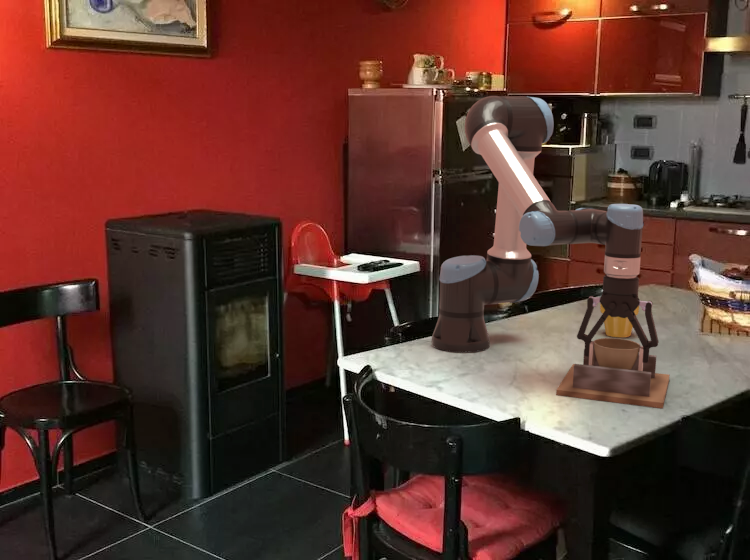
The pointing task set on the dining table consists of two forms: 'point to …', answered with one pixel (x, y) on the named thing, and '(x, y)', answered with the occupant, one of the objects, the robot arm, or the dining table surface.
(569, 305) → the dining table surface
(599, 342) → the flower pot
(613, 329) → the plant pot
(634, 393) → the cup cradle
